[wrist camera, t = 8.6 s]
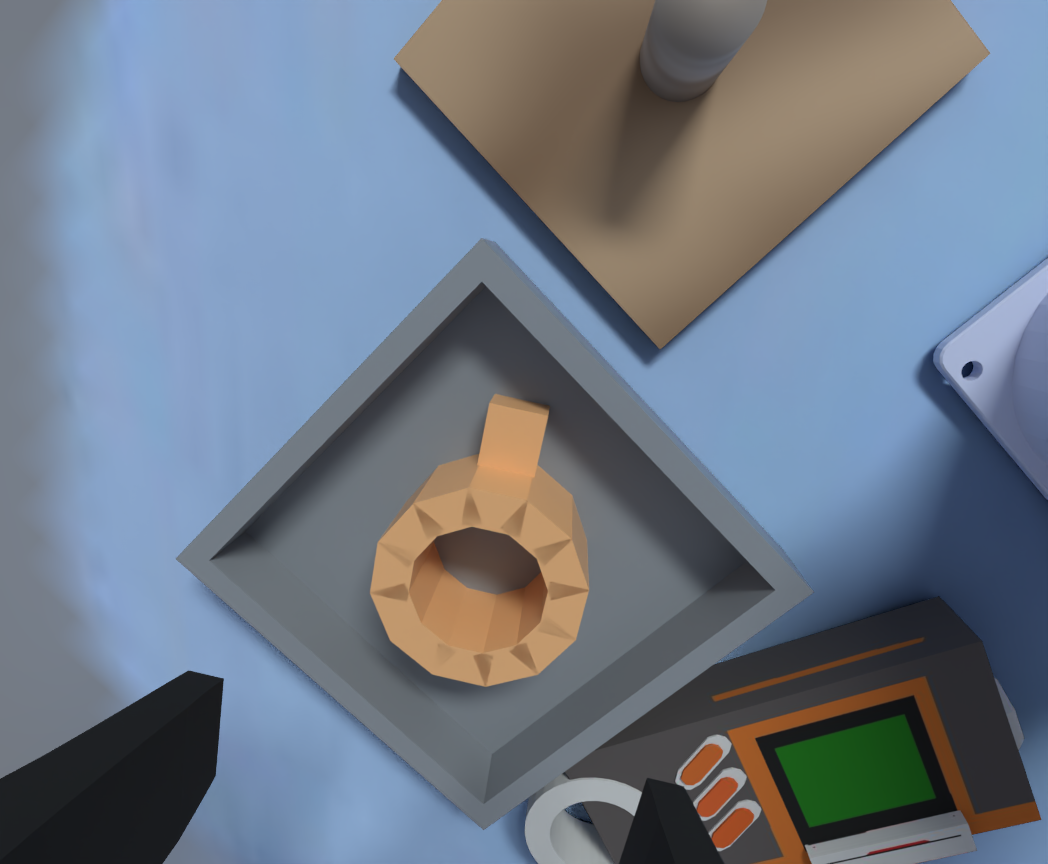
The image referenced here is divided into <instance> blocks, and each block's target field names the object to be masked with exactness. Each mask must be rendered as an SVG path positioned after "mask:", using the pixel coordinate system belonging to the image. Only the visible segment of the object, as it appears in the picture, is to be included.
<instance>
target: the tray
mask: <svg viewBox="0 0 1048 864" xmlns="http://www.w3.org/2000/svg"><path fill="white" fill-rule="evenodd" d="M495 394H498V395H503V396H507V397H512V398H517V399H521V400H526V401H530V402H535V403H539V404H544V405H548V406H550V409H549V415H548V419H547V424H546V428H545V433H544V437H543V442H542V446H541V450H540V455H539V459H538V464H537V465H538V466H540V467H541V468H542V469H543V470H544V471H545V472H546V473H547V474H549V475H550V476H551V477H552V478H553V479H554V480H555V481H557V482H558V483H559V484H560V485H561V486H562V487H563V488H565V489H566V490H567V491H568V492H569V493H570V494H571V495H573V499H574V502H575V505H576V508H577V511H578V514H579V517H580V520H581V523H582V526H583V530H584V533H585V536H586V539H587V553H588V576H589V592H588V596H587V600H586V604H585V608H584V611H583V615H582V619H581V623H580V626H579V630H578V634H577V638H576V640H575V641H574V642H573V643H572V644H571V645H570V646H569V647H568V648H567V649H565V650H564V651H563V652H562V653H561V654H560V655H559V656H558V657H557V658H556V659H555V660H553V661H552V662H551V663H550V664H549V665H548V666H547V667H546V668H545V669H544V670H542V671H541V672H540V673H539V674H538V675H534V676H530V677H526V678H521V679H517V680H513V681H509V682H504V683H500V684H496V685H492V686H487V687H484V686H480V685H476V684H471V683H467V682H463V681H458V680H454V679H450V678H445V677H441V676H437V675H432V674H431V673H430V672H429V671H427V670H426V669H425V668H424V667H422V666H421V665H420V664H419V663H417V662H416V661H415V660H414V659H412V658H411V657H410V656H409V655H407V654H406V653H405V652H404V651H402V650H401V649H400V648H399V647H397V646H396V645H395V644H394V643H392V642H391V641H390V639H389V637H388V634H387V632H386V630H385V627H384V625H383V623H382V620H381V618H380V616H379V613H378V611H377V609H376V606H375V604H374V601H373V599H372V597H371V594H370V589H371V582H372V576H373V570H374V563H375V557H376V550H377V544H378V541H379V540H380V538H381V537H382V535H383V534H384V533H385V531H386V530H387V528H388V527H389V526H390V524H391V523H392V521H393V520H394V519H395V517H396V516H397V514H398V513H399V511H400V510H401V509H402V507H403V506H404V504H405V503H406V502H407V500H408V499H409V498H410V497H411V496H412V495H413V494H414V492H415V491H416V490H417V489H418V488H419V487H420V486H421V485H422V484H423V483H424V481H425V480H426V479H427V478H428V477H429V476H430V475H431V474H432V473H433V472H434V470H435V469H436V468H437V467H438V466H439V465H442V464H446V463H449V462H452V461H456V460H459V459H463V458H466V457H469V456H473V455H476V454H479V453H480V448H481V443H482V438H483V433H484V428H485V423H486V417H487V412H488V407H489V403H490V401H491V399H492V398H493V396H494V395H495ZM434 544H435V546H436V549H437V551H438V554H439V556H440V559H441V561H442V564H443V566H444V569H445V570H446V571H447V572H449V573H450V574H451V575H452V576H453V577H455V578H456V579H457V580H458V581H459V582H461V583H462V584H463V585H464V586H466V587H467V588H469V589H474V590H478V591H483V592H487V593H491V594H496V595H498V594H501V593H505V592H509V591H513V590H517V589H521V588H525V587H526V586H527V585H528V584H529V583H530V582H531V581H532V580H533V579H534V578H535V577H536V576H537V575H538V574H540V573H541V569H540V567H539V564H538V561H537V559H536V558H535V557H534V556H533V555H532V554H531V553H529V552H528V551H527V550H526V549H525V548H524V547H522V546H521V545H520V544H519V543H518V542H517V541H515V540H514V539H513V538H512V537H511V536H510V535H507V534H503V533H498V532H494V531H489V530H485V529H481V528H476V527H469V528H465V529H462V530H458V531H454V532H451V533H447V534H444V535H440V536H437V537H436V538H435V540H434ZM176 560H177V561H179V562H180V563H181V564H182V565H183V566H184V567H185V568H186V569H188V570H189V571H190V572H191V573H192V574H193V575H194V576H196V577H197V578H198V579H199V580H200V581H201V582H202V583H204V584H205V585H206V586H207V587H208V588H209V589H210V590H211V591H213V592H214V593H215V594H216V595H217V596H218V597H219V598H221V599H222V600H223V601H224V602H225V603H226V604H227V605H229V606H230V607H231V608H232V609H233V610H234V611H235V612H236V613H238V614H239V615H240V616H241V617H242V618H243V619H244V620H246V621H247V622H248V623H249V624H250V625H251V626H252V627H254V628H255V629H256V630H257V631H258V632H259V633H260V634H261V635H263V636H264V637H265V638H266V639H267V640H268V641H269V642H271V643H272V644H273V645H274V646H275V647H276V648H277V649H279V650H280V651H281V652H282V653H283V654H284V655H285V656H286V657H288V658H289V659H290V660H291V661H292V662H293V663H294V664H296V665H297V666H298V667H299V668H300V669H301V670H302V671H304V672H305V673H306V674H307V675H308V676H309V677H310V678H311V679H313V680H314V681H315V682H316V683H317V684H318V685H319V686H321V687H322V688H323V689H324V690H325V691H326V692H327V693H329V694H330V695H331V696H332V697H333V698H334V699H335V700H336V701H338V702H339V703H340V704H341V705H342V706H343V707H344V708H346V709H347V710H348V711H349V712H350V713H351V714H352V715H354V716H355V717H356V718H357V719H358V720H359V721H360V722H361V723H363V724H364V725H365V726H366V727H367V728H368V729H369V730H371V731H372V732H373V733H374V734H375V735H376V736H377V737H379V738H380V739H381V740H382V741H383V742H384V743H385V744H386V745H388V746H389V747H390V748H391V749H392V750H393V751H394V752H396V753H397V754H398V755H399V756H400V757H401V758H402V759H403V760H405V761H406V762H407V763H408V764H409V765H410V766H411V767H413V768H414V769H415V770H416V771H417V772H418V773H419V774H421V775H422V776H423V777H424V778H425V779H426V780H427V781H428V782H430V783H431V784H432V785H433V786H434V787H435V788H436V789H438V790H439V791H440V792H441V793H442V794H443V795H444V796H446V797H447V798H448V799H449V800H450V801H451V802H452V803H453V804H455V805H456V806H457V807H458V808H459V809H460V810H461V811H463V812H464V813H465V814H466V815H467V816H468V817H469V818H471V819H472V820H473V821H474V822H475V823H476V824H477V825H478V826H480V827H481V828H482V829H483V830H484V829H486V828H487V827H488V826H490V825H491V824H493V823H494V822H495V821H497V820H498V819H500V818H501V817H502V816H504V815H505V814H507V813H508V812H509V811H511V810H512V809H513V808H515V807H516V806H518V805H519V804H520V803H522V802H523V801H525V800H526V799H527V798H529V797H530V796H532V795H533V794H534V793H536V792H537V791H539V790H540V789H541V788H543V787H544V786H545V785H547V784H548V783H550V782H551V781H552V780H554V779H555V778H557V777H558V776H559V775H561V774H562V773H564V772H565V771H566V770H568V769H569V768H570V767H572V766H573V765H575V764H576V763H577V762H579V761H580V760H582V759H583V758H584V757H586V756H587V755H589V754H590V753H591V752H593V751H594V750H595V749H597V748H598V747H600V746H601V745H602V744H604V743H605V742H607V741H608V740H609V739H611V738H612V737H614V736H615V735H616V734H618V733H619V732H621V731H622V730H623V729H625V728H626V727H627V726H629V725H630V724H632V723H633V722H634V721H636V720H637V719H639V718H640V717H641V716H643V715H644V714H646V713H647V712H648V711H650V710H651V709H652V708H654V707H655V706H657V705H658V704H659V703H661V702H662V701H664V700H665V699H666V698H668V697H669V696H671V695H672V694H673V693H675V692H676V691H678V690H679V689H680V688H682V687H683V686H684V685H686V684H687V683H689V682H690V681H691V680H693V679H694V678H696V677H697V676H698V675H700V674H701V673H703V672H704V671H705V670H707V669H708V668H709V667H711V666H712V665H714V664H715V663H716V662H718V661H719V660H721V659H722V658H723V657H725V656H726V655H728V654H729V653H730V652H732V651H733V650H735V649H736V648H737V647H739V646H740V645H741V644H743V643H744V642H746V641H747V640H748V639H750V638H751V637H753V636H754V635H755V634H757V633H758V632H760V631H761V630H762V629H764V628H765V627H766V626H768V625H769V624H771V623H772V622H773V621H775V620H776V619H778V618H779V617H780V616H782V615H783V614H785V613H786V612H787V611H789V610H790V609H791V608H793V607H794V606H796V605H797V604H798V603H800V602H801V601H803V600H804V599H805V598H807V597H808V596H810V595H811V594H812V593H814V591H813V590H812V589H811V587H810V586H809V585H808V583H807V582H806V580H805V579H804V578H803V576H802V575H801V574H800V572H799V571H798V569H797V568H796V567H795V565H794V564H793V563H792V561H791V560H790V558H789V557H788V556H787V554H786V553H785V552H784V550H783V549H782V548H781V547H780V546H779V545H778V544H777V543H776V542H775V541H774V539H773V538H772V537H771V536H770V535H769V534H768V533H767V532H766V531H765V530H764V529H763V528H762V527H761V526H760V525H759V523H758V522H757V521H756V520H755V519H754V518H753V517H752V516H751V515H750V514H749V513H748V512H747V511H746V510H745V508H744V507H743V506H742V505H741V504H740V503H739V502H738V501H737V500H736V499H735V498H734V497H733V496H732V495H731V494H730V492H729V491H728V490H727V489H726V488H725V487H724V486H723V485H722V484H721V483H720V482H719V481H718V480H717V479H716V478H715V476H714V475H713V474H712V473H711V472H710V471H709V470H708V469H707V468H706V467H705V466H704V465H703V464H702V463H701V461H700V460H699V459H698V458H697V457H696V456H695V455H694V454H693V453H692V452H691V451H690V450H689V449H688V448H687V447H686V445H685V444H684V443H683V442H682V441H681V440H680V439H679V438H678V437H677V436H676V435H675V434H674V433H673V432H672V431H671V429H670V428H669V427H668V426H667V425H666V424H665V423H664V422H663V421H662V420H661V419H660V418H659V417H658V416H657V415H656V413H655V412H654V411H653V410H652V409H651V408H650V407H649V406H648V405H647V404H646V403H645V402H644V401H643V400H642V398H641V397H640V396H639V395H638V394H637V393H636V392H635V391H634V390H633V389H632V388H631V387H630V386H629V385H628V384H627V382H626V381H625V380H624V379H623V378H622V377H621V376H620V375H619V374H618V373H617V372H616V371H615V370H614V369H613V368H612V366H611V365H610V364H609V363H608V362H607V361H606V360H605V359H604V358H603V357H602V356H601V355H600V354H599V353H598V351H597V350H596V349H595V348H594V347H593V346H592V345H591V344H590V343H589V342H588V341H587V340H586V339H585V338H584V337H583V335H582V334H581V333H580V332H579V331H578V330H577V329H576V328H575V327H574V326H573V325H572V324H571V323H570V322H569V321H568V319H567V318H566V317H565V316H564V315H563V314H562V313H561V312H560V311H559V310H558V309H557V308H556V307H555V306H554V304H553V303H552V302H551V301H550V300H549V299H548V298H547V297H546V296H545V295H544V294H543V293H542V292H541V291H540V290H539V288H538V287H537V286H536V285H535V284H534V283H533V282H532V281H531V280H530V279H529V278H528V277H527V276H526V275H525V274H524V272H523V271H522V270H521V269H520V268H519V267H518V266H517V265H516V264H515V263H514V262H513V261H512V260H511V259H510V258H509V256H508V255H507V254H506V253H505V252H504V251H503V250H502V249H501V248H500V247H499V246H498V245H497V244H496V243H495V242H494V241H490V240H486V239H483V238H481V239H480V240H479V241H478V243H477V244H476V245H475V246H474V247H473V248H472V249H471V250H470V251H469V252H468V253H467V254H466V255H465V256H464V257H463V258H462V259H461V260H460V261H459V262H458V263H457V265H456V266H455V267H454V268H453V269H452V270H451V271H450V272H449V273H448V274H447V275H446V276H445V277H444V278H443V279H442V280H441V281H440V282H439V283H438V284H437V285H436V287H435V288H434V289H433V290H432V291H431V292H430V293H429V294H428V295H427V296H426V297H425V298H424V299H423V300H422V301H421V302H420V303H419V304H418V305H417V306H416V307H415V309H414V310H413V311H412V312H411V313H410V314H409V315H408V316H407V317H406V318H405V319H404V320H403V321H402V322H401V323H400V324H399V325H398V326H397V327H396V328H395V329H394V331H393V332H392V333H391V334H390V335H389V336H388V337H387V338H386V339H385V340H384V341H383V342H382V343H381V344H380V345H379V346H378V347H377V348H376V349H375V350H374V351H373V353H372V354H371V355H370V356H369V357H368V358H367V359H366V360H365V361H364V362H363V363H362V364H361V365H360V366H359V367H358V368H357V369H356V370H355V371H354V372H353V373H352V375H351V376H350V377H349V378H348V379H347V380H346V381H345V382H344V383H343V384H342V385H341V386H340V387H339V388H338V389H337V390H336V391H335V392H334V393H333V394H332V395H331V397H330V398H329V399H328V400H327V401H326V402H325V403H324V404H323V405H322V406H321V407H320V408H319V409H318V410H317V411H316V412H315V413H314V414H313V415H312V416H311V417H310V419H309V420H308V421H307V422H306V423H305V424H304V425H303V426H302V427H301V428H300V429H299V430H298V431H297V432H296V433H295V434H294V435H293V436H292V437H291V438H290V439H289V441H288V442H287V443H286V444H285V445H284V446H283V447H282V448H281V449H280V450H279V451H278V452H277V453H276V454H275V455H274V456H273V457H272V458H271V459H270V460H269V461H268V463H267V464H266V465H265V466H264V467H263V468H262V469H261V470H260V471H259V472H258V473H257V474H256V475H255V476H254V477H253V478H252V479H251V480H250V481H249V482H248V483H247V485H246V486H245V487H244V488H243V489H242V490H241V491H240V492H239V493H238V494H237V495H236V496H235V497H234V498H233V499H232V500H231V501H230V502H229V503H228V504H227V505H226V507H225V508H224V509H223V510H222V511H221V512H220V513H219V514H218V515H217V516H216V517H215V518H214V519H213V520H212V521H211V522H210V523H209V524H208V525H207V526H206V527H205V529H204V530H203V531H202V532H201V533H200V534H199V535H198V536H197V537H196V538H195V539H194V540H193V541H192V542H191V543H190V544H189V545H188V546H187V547H186V548H185V549H184V551H183V552H182V553H181V554H180V555H179V556H178V557H177V558H176Z"/></svg>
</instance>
